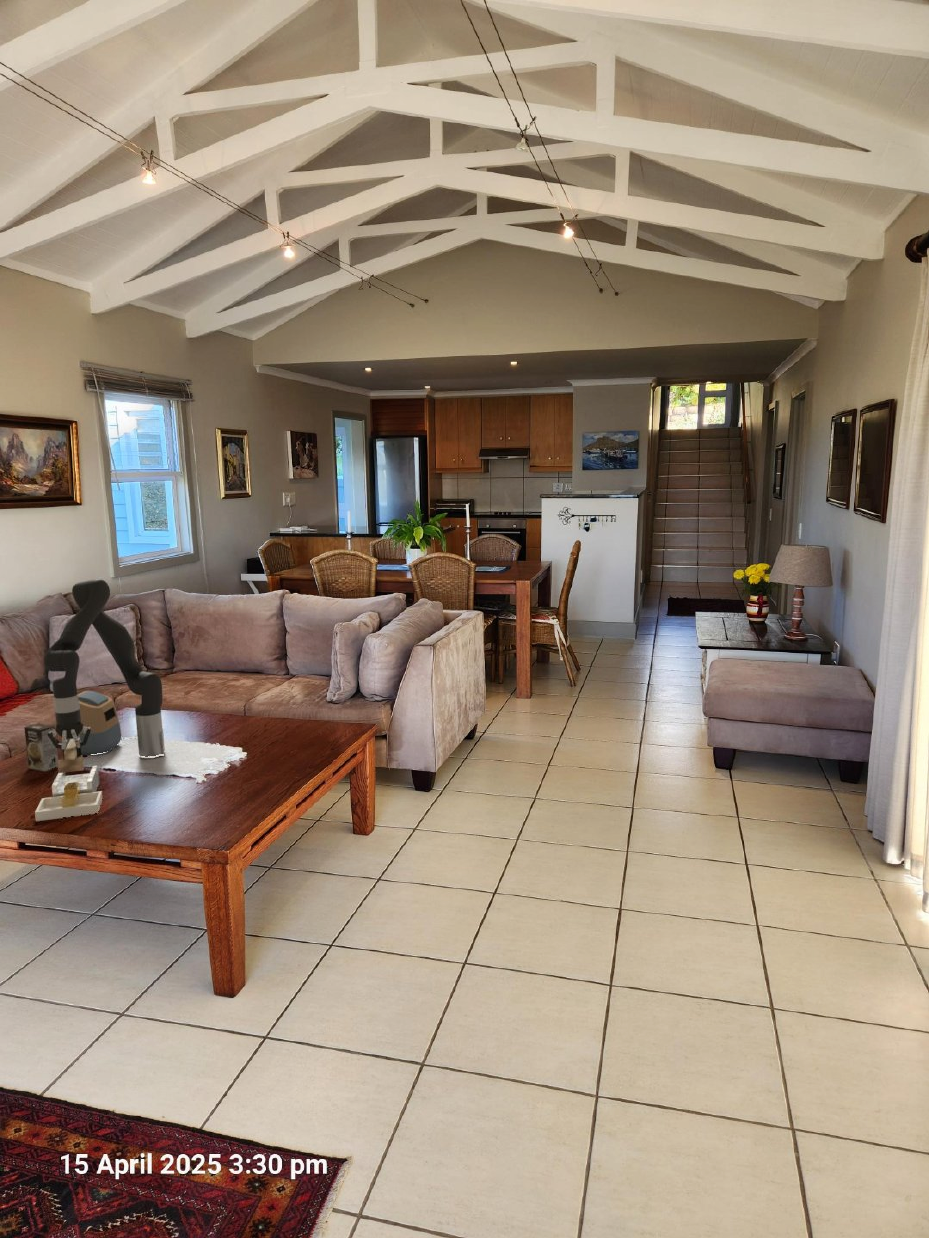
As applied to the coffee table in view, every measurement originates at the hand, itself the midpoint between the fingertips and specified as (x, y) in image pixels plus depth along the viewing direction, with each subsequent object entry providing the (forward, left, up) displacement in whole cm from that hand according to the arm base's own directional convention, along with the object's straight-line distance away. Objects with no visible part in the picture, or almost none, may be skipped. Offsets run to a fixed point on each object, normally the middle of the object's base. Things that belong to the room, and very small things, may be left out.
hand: (72, 758), depth 268 cm
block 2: (0, +10, -11) cm, 15 cm away
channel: (0, -3, -14) cm, 14 cm away
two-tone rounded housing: (0, -51, -14) cm, 53 cm away
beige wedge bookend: (0, -1, -3) cm, 3 cm away
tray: (0, +12, -14) cm, 18 cm away
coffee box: (+16, -36, -14) cm, 42 cm away
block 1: (0, +7, -11) cm, 13 cm away
